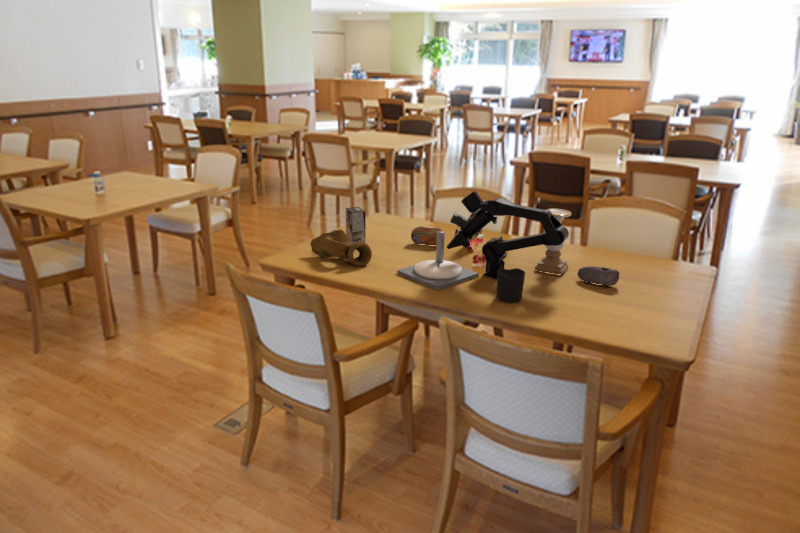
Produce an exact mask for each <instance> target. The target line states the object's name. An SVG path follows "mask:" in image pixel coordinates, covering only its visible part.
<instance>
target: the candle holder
mask: <svg viewBox="0 0 800 533" xmlns="http://www.w3.org/2000/svg"><path fill="white" fill-rule="evenodd" d="M545 210H549V211H550V212H551V213H552V215H553V216H554V217H555V218H556V219H557V220H558V221H559V222H560V223H561V224H562V222H563V221H564V219H565V218H568V217H571V216H572V212H571V211H570V210H568V209H563V208H547V209H545ZM564 245H565V244H564V242H563V243H562V244H561V245H558V246H548V245H544V247H545V248H546V250H545V253H544V254H545V256H543V257H542V258H541V259H540V260H539V261H538V263H536V265H535V267H534V271H535V270H537V271H542V272H549V273H554V274H561V275H562V274H563V273H564V272H565V270H566V269H567V268H568V269H569V264H568V263H567V260H565V259H562V258H561V257H562V256H561V255H562V252H561V251H562V250H563V249H564V247H565V246H564ZM568 269H567V270H568ZM565 273H566V272H565ZM565 273H564V274H565ZM564 274H563V275H564ZM563 275H562V276H563Z"/></svg>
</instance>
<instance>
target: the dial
mask: <svg viewBox="0 0 800 533" xmlns="http://www.w3.org/2000/svg"><path fill="white" fill-rule="evenodd" d="M444 239H446V233H445V231H444V230H442V231H438V232H437V245H436V247H435V249H436V250H435V259H436V260H435V259H426V260H423V261H419V262H417V263H416V264H414V265H415V273H416V274H417V275H419V276H422V277H425V278H429V279H439V280H442V279H452V278H456V277H458V276H460V275H461V273H462V268H461V267H462V266H461V265H460V264H459V263H456V262H454V261H450V260H445V259H444V258H445V257H444V255H445V240H444Z"/></svg>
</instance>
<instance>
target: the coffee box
mask: <svg viewBox="0 0 800 533" xmlns="http://www.w3.org/2000/svg"><path fill="white" fill-rule="evenodd" d="M345 234H346V235H347V237H348V238H349V239H350V241H351V242H352V243H355V242H364V243H366V237H367V236H366V234H367V233H366V210H365V209H363V208H361V207H359V206H351V207H345ZM366 244H367V243H366Z"/></svg>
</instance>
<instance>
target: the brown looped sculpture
mask: <svg viewBox="0 0 800 533" xmlns="http://www.w3.org/2000/svg"><path fill="white" fill-rule="evenodd" d="M309 245H310V247H311V251H312V253H313V254H315V255H318V256H319V257H321V258H323V259H325V258H329V257H335V258H339V259H340V260H347V261H349V263H351V264H352V265H354V266H355V267H365V266H366V265H368V264H369V263H370V262H371V260H372V256H373V252H372V249H371V246H369V244H367V243H364V242H355V243H352V242H351V241H350V239H349V238H348V237H347V235H346V232H345V231H344V230H343V229H340V228H339V229H336V230H335V229H334V230H333V231H330V232H323V233H321V234H319V236H318V237H317V236H316V237H315V238H313V239H312V240H311V241H310V244H309ZM355 250H356V251H357V252H358V254H359V255H358V256H357V257H354V253H355Z"/></svg>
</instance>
